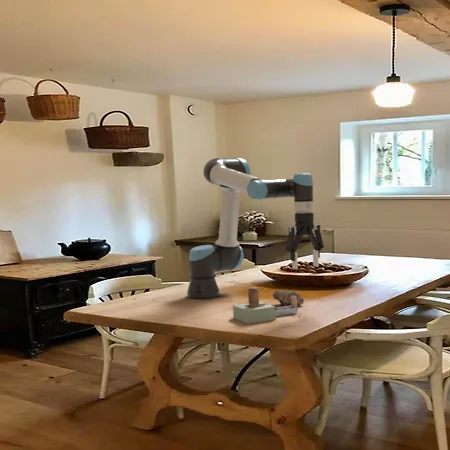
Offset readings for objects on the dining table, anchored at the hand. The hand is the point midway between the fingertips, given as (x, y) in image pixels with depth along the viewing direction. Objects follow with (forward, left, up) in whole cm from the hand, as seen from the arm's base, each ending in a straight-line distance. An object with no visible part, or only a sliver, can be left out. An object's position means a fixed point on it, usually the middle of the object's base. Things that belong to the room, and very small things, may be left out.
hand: (305, 267), depth 248 cm
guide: (0, -12, -18) cm, 21 cm away
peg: (0, -24, -18) cm, 30 cm away
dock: (0, -24, -18) cm, 30 cm away
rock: (-13, 0, -18) cm, 22 cm away
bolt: (0, -10, -17) cm, 20 cm away
